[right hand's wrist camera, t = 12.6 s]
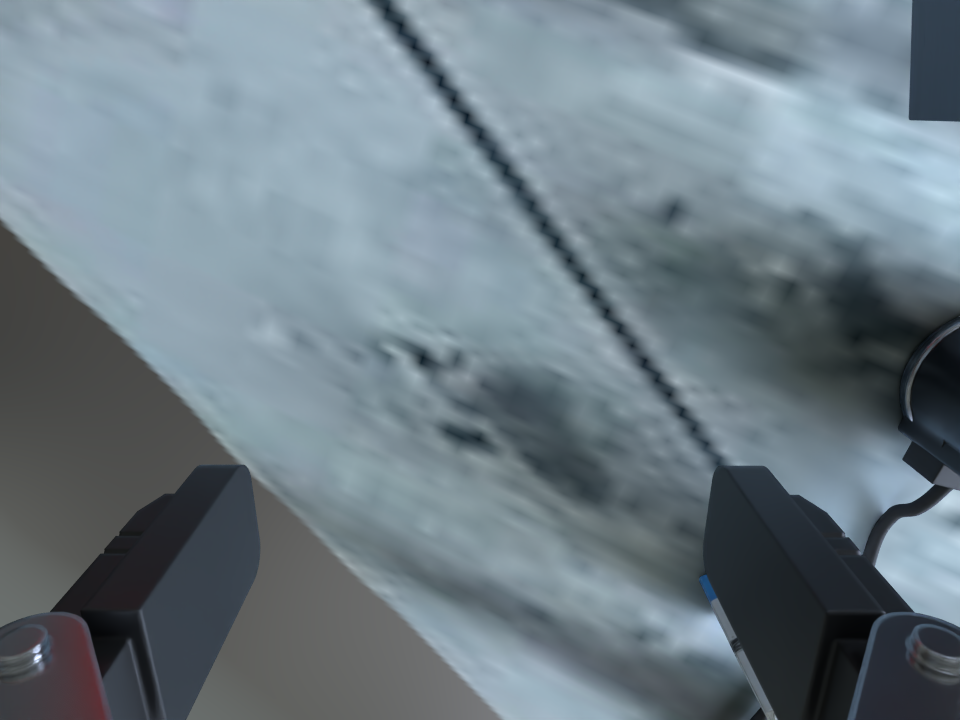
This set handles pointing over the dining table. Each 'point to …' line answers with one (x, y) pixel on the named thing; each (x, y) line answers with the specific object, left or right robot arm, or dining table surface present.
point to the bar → (935, 61)
